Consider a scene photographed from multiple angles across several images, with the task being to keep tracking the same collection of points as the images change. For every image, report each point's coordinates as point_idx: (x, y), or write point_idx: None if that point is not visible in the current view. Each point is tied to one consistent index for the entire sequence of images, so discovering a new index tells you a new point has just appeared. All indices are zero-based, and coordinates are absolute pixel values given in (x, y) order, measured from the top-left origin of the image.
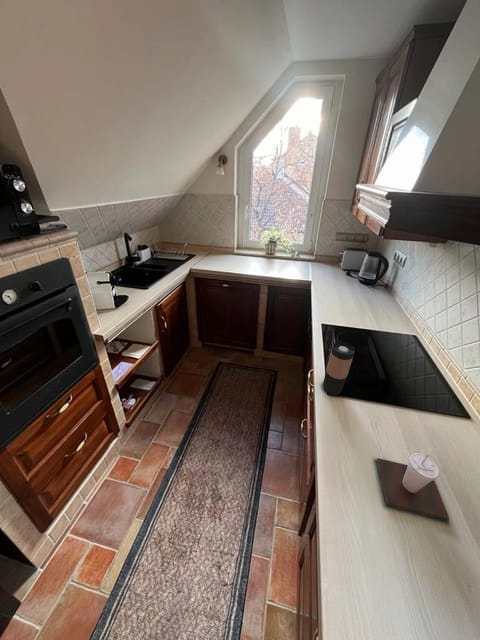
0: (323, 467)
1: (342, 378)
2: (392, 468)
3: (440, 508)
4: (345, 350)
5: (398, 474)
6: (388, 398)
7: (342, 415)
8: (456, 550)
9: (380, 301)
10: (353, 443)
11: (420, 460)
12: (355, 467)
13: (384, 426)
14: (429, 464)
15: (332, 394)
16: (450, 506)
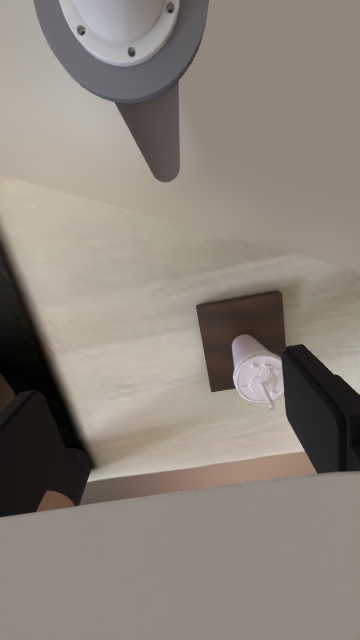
0: (256, 455)
1: (68, 499)
2: (222, 370)
3: (268, 303)
4: None
5: (230, 362)
6: (29, 361)
7: (135, 440)
8: (318, 285)
9: None
10: (190, 420)
11: (254, 386)
12: (237, 415)
13: (121, 371)
14: (256, 370)
15: (90, 462)
16: (248, 279)
